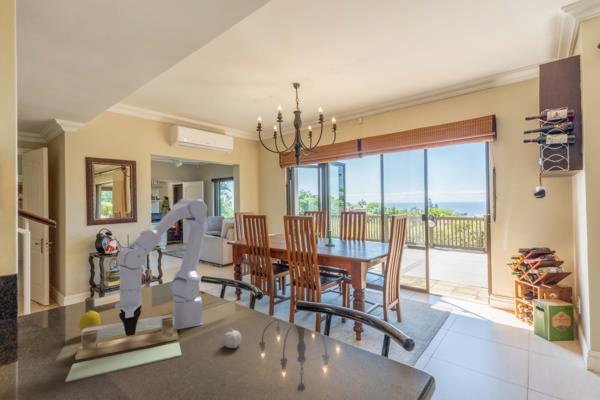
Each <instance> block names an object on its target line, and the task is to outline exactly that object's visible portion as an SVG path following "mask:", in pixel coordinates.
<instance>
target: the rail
mask: <svg viewBox="0 0 600 400" xmlns="http://www.w3.org/2000/svg"><path fill="white" fill-rule="evenodd" d="M169 314H170V313H169ZM163 315H164V314H163ZM171 318H173V325H174V314H173V313H172V314H170V315H164V316H161V315H158V316H153V317H151V316H150V317H147V318H141V319H139V318H138V321H137V325H136V331H135V333H137V332H141V331H148V330H153V329H160V328H162V320H165V319H171ZM95 331H96V339H98V340H99V339H103V338H109V337H115V336H120V335H126V333H125V328H124V325H123V322H117V323H109V324H103V325H100V326H97V327H91V328H85V329H83V330H82V332H81V331H80V333H81V335H80V339H81V340H80V341H81V343H82V335H83V333H89V332H95Z"/></svg>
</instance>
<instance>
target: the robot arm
mask: <svg viewBox="0 0 600 400" xmlns="http://www.w3.org/2000/svg"><path fill="white" fill-rule="evenodd" d="M207 212H208V206H207V205H206V203H205V202H204V201H203V200H202V199H200V198H194V199H193V198H191V199H190V198H181V199H179V200H178V201H177V202H176V203H175V204H173V205H172V207H171V209H170V210H169V211H168V212H167V213H166V214H165V215H164V216H163V218H162V219H161V220H160V221H158V223H157V224H156V225H155V226H154V227H153V228H148V229H145V230H142V231H141V232H140V233H139V234H140V235H139V236H138V237H137V238H136V239H135V240H134V241H133V242H130V243H128V245H127V246H128V247H124V248H123V249H121V250H120V251H119V252H118V253H117V257H116V258H115V262H116V263H117V265H118V266H119V302H118V303H117V302H116V303H115V304H114V307H115V308H116V309H117V308H119V309H120V312H119V314H118V317H119V319H120V320H121V321H122V322H123V325H124V328H125V333H126V334H125V335H126V337H132V336H134V335H135V334H136V332H135V331H136V325H137V321H138V320H139V318H140V316H141V315H142V314H141V313H142V310H141V309H142V305H143V299H142V297H143V296H142V266H143V265H144V264H145V262H146V259H147V256H148V255H149V254H150V253H151V252H152V251H153V250H154V249H155V248H156V247H157V246H158V245H159V244H160V243H161V242H162V236H163V235H164V234H165V233H166V232H167V231H168V230H169V229H170V228H171V227H173V226H174V225H175V224H176V223H178V221H179V220H184V219H185V220H186V221H187V223H188V224H189V227H190V229H189V232H188V237H187V241H186V244H185V249H184V252H183V257H182V261H181V265H180V269H179V270H178V271H177V272H176V273H175V274H174V277H173V279H172V281H171V282H170V284H169V289H168V290H169V293H170V294H171V295H172V301H173V306H172V307H173V308H172V309H173V311H172V312H173V313H172V314H174V325H173V329H177V330H183V329H188V328H192V327H198V326H202V325H203V303H202V302H203V301H202V297H201V296H199V293H200V287H201V286H200V279H201V278H200V276H199V275H198V272H197V271H198V266H199V262H200V257H201V253H202V249H203V246H204V245H203V244H204V241H205V236H206V232H207V228H208V217H207ZM135 336H136V335H135Z"/></svg>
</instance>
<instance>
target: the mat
mask: <svg viewBox="0 0 600 400" xmlns="http://www.w3.org/2000/svg"><path fill="white" fill-rule="evenodd" d="M179 357H182V351H181V346H180V342H179V341H178V342H174V343H167V344H164V345H158V346H153V347H150V348H145V349H139V350H134V351H130V352H129V351H128V352H124V353H120V354H114V355H111V356H110V355H109V356H105V357H101V358H96V359H91V360H86V361H80V362H77V363H73V364H72V365H71V368H70V370H69V372H68V374H67V376H66V378H65V381H64V382H65V383H68V382H72V381H77V380H82V379H86V378H89V377H95V376H99V375H103V374H108V373H112V372H117V371H121V370H122V371H123V370H125V369H131V368H134V367H139V366H144V365H148V364H152V363H157V362H161V361H164V360H170V359H174V358H179Z"/></svg>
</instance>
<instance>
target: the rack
mask: <svg viewBox="0 0 600 400" xmlns="http://www.w3.org/2000/svg"><path fill="white" fill-rule="evenodd" d="M170 314H173V313H166V314H161V315H160V316H164V315H170ZM97 326H98V325H96V326H90V327H86V328H91V327H97ZM176 340H179V334H178V329H173V318H171V319H165V320H162V327H161V331H155V332H152V333H145V334H140V335H135V336H134V335H133V336H128V337H124V338H119V339H114V340H107V341H103V342H99V339H96V331H95V332H89V333H83V335H82V342H81V345H82V346H79V348H78V350H77V352H76V354H75V361H78V360H82V359H87V358H91V357H97V356H98V357H99V356H103V355H106V354H107V355H108V354H112V353H116V352H121V351H127V350H132V349H136V348H141V347H147V346H151V345H155V344H156V345H157V344H161V343H166V342H171V341H176Z"/></svg>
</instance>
